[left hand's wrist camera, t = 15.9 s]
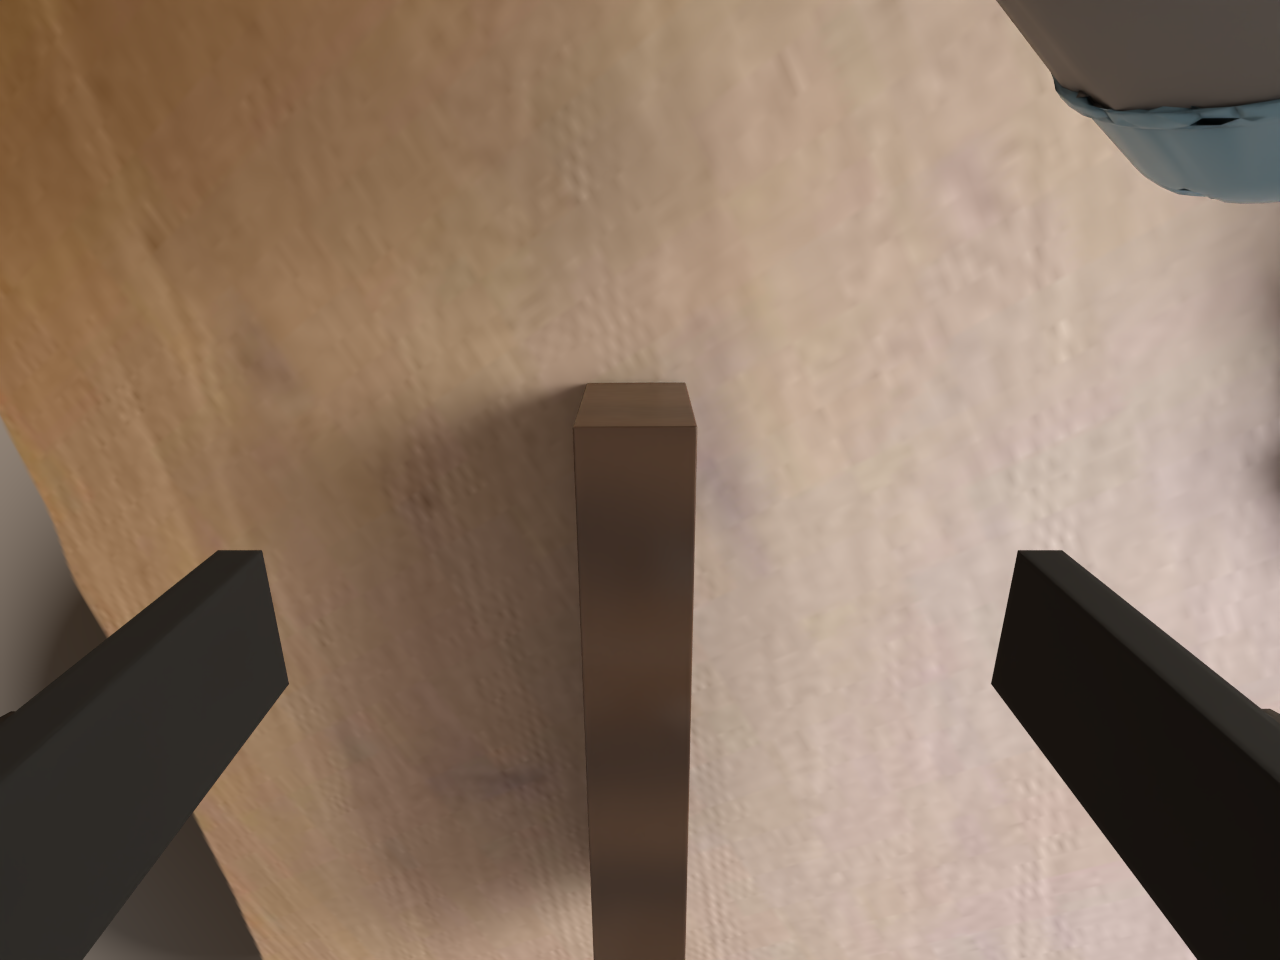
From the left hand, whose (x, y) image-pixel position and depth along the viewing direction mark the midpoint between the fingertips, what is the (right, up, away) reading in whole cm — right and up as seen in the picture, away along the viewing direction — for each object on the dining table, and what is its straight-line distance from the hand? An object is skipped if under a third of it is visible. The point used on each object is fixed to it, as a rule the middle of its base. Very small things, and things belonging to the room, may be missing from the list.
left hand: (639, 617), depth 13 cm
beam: (0, -8, +29) cm, 30 cm away
